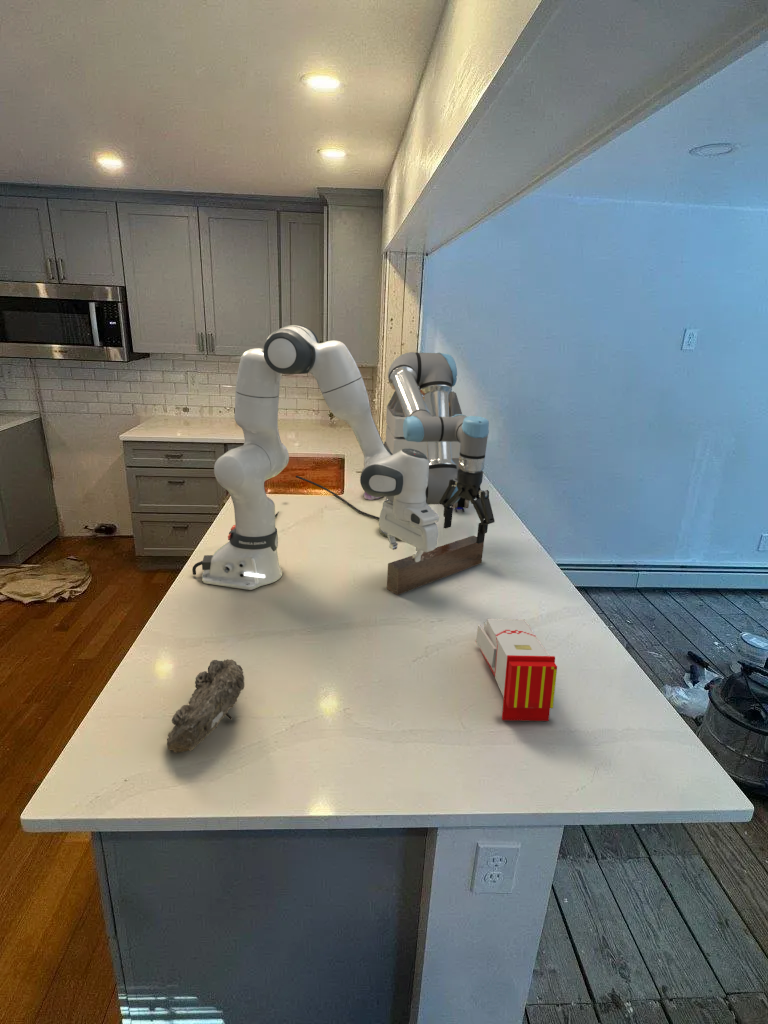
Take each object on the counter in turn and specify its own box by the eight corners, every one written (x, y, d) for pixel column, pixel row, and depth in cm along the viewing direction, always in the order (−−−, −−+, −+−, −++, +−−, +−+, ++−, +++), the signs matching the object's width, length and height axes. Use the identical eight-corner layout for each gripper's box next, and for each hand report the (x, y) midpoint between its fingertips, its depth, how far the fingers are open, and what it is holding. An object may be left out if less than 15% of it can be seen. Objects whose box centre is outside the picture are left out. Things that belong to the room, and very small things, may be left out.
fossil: (192, 660, 117) (244, 628, 112) (224, 691, 120) (276, 661, 115) (142, 746, 98) (202, 712, 93) (182, 779, 101) (242, 748, 96)
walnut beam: (386, 589, 160) (388, 563, 158) (470, 558, 183) (473, 535, 180) (397, 595, 157) (398, 569, 154) (481, 563, 180) (484, 539, 177)
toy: (523, 604, 135) (566, 662, 106) (518, 656, 138) (559, 727, 109) (472, 603, 135) (501, 661, 105) (468, 655, 138) (496, 726, 108)
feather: (286, 506, 225) (288, 502, 225) (268, 529, 199) (271, 525, 198) (282, 503, 225) (284, 499, 225) (264, 526, 199) (267, 522, 198)
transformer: (382, 463, 289) (386, 382, 275) (445, 464, 293) (451, 384, 279) (390, 482, 257) (394, 392, 243) (460, 483, 261) (468, 394, 247)
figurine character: (469, 517, 223) (463, 501, 236) (471, 500, 219) (465, 484, 233) (452, 516, 222) (447, 500, 236) (454, 499, 219) (449, 483, 232)
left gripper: (375, 499, 159) (372, 544, 164) (427, 522, 145) (421, 571, 150) (392, 495, 163) (388, 539, 168) (443, 518, 149) (438, 565, 154)
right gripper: (431, 460, 174) (426, 524, 182) (495, 483, 157) (486, 552, 165) (448, 457, 179) (442, 519, 187) (512, 478, 162) (502, 545, 170)
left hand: (404, 554), depth 159 cm, fingers open, 8 cm apart
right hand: (463, 534), depth 176 cm, fingers open, 13 cm apart
